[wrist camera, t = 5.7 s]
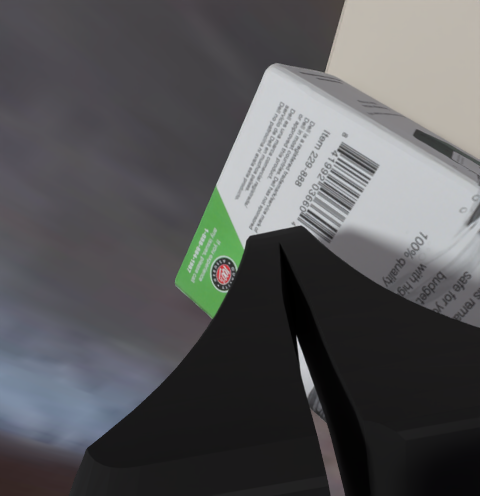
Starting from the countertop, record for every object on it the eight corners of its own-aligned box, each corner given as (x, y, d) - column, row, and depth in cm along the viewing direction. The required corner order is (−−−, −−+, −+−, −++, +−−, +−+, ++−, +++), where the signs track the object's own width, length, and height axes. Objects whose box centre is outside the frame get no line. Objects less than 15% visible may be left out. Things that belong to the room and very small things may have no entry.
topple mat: (681, 46, 17) (689, 47, 17) (502, 332, 24) (506, 336, 24) (355, -37, 15) (358, -38, 15) (261, 300, 22) (261, 303, 22)
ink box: (241, 254, 21) (475, 450, 17) (165, 284, 17) (449, 552, 13) (338, 71, 16) (684, 274, 12) (268, 54, 12) (744, 345, 8)
